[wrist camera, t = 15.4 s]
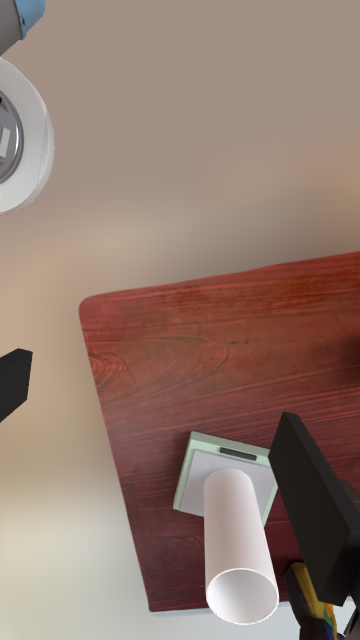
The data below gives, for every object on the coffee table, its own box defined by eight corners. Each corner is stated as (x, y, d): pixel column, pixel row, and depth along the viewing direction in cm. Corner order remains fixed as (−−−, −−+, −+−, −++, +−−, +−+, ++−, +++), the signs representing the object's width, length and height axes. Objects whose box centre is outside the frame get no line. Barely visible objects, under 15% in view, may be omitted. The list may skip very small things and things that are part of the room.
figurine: (327, 583, 55) (373, 700, 40) (292, 594, 56) (325, 713, 42) (306, 544, 54) (346, 651, 39) (270, 556, 55) (297, 666, 40)
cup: (202, 467, 48) (203, 567, 33) (252, 466, 48) (279, 567, 32) (205, 510, 50) (208, 624, 34) (254, 509, 49) (279, 625, 34)
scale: (174, 497, 53) (172, 511, 50) (191, 430, 50) (190, 441, 47) (260, 518, 53) (263, 533, 50) (282, 452, 50) (287, 464, 47)
